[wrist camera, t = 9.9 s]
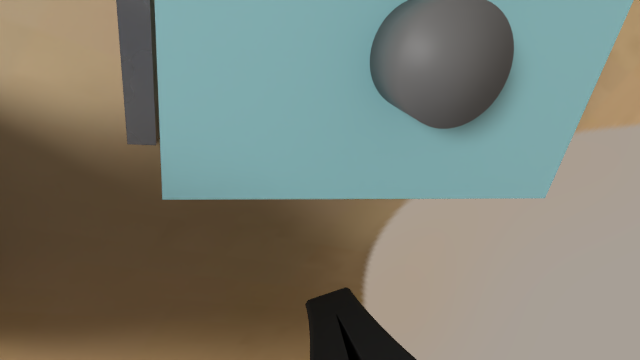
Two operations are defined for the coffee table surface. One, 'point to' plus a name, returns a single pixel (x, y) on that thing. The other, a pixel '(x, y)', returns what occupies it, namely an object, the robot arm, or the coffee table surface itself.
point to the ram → (374, 95)
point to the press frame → (139, 70)
